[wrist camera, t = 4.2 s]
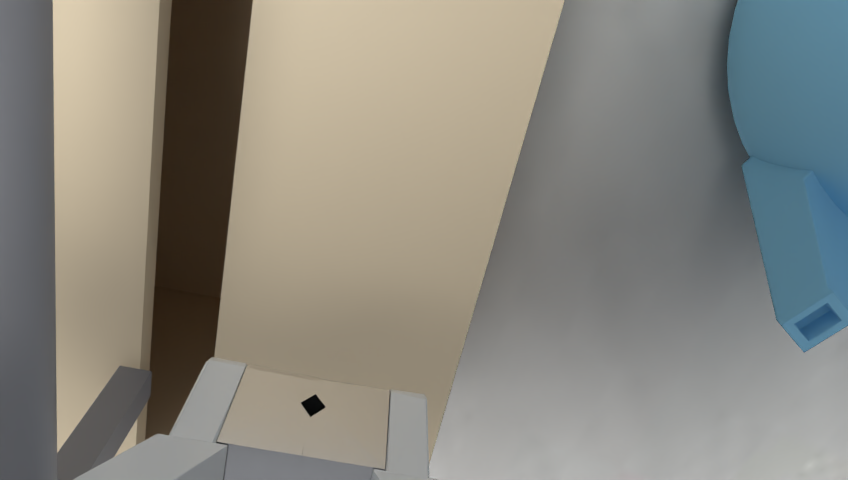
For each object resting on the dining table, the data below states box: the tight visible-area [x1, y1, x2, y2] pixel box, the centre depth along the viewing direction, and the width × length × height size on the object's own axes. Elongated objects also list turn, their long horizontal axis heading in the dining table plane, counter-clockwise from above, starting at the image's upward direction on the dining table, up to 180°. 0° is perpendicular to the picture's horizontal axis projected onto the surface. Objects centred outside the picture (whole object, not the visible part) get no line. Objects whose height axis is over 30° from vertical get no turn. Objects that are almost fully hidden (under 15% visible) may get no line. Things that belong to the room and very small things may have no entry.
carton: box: [145, 0, 565, 463], centre depth 19 cm, size 14×18×10 cm
